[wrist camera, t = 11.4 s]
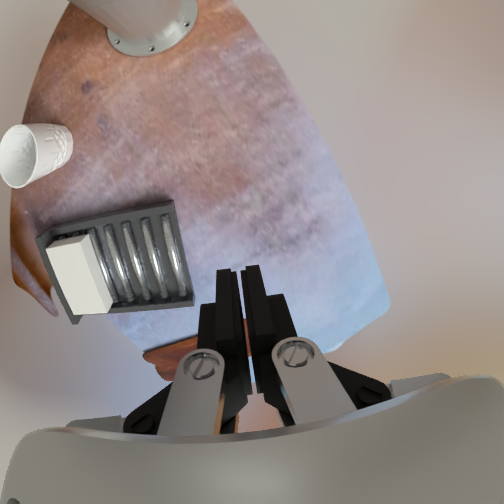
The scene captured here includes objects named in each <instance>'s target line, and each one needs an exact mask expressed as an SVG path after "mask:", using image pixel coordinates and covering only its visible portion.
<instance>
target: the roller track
mask: <svg viewBox="0 0 504 504" xmlns="http://www.w3.org/2000/svg"><path fill="white" fill-rule="evenodd" d="M85 234H89V237H90V240H91V243H92V246H93V249H94V252H95V255H96V258H97V261H98V264H99V267H100V269H101V272H102V275H103V277H104V280H105V283H106V285H107V288H108V290H109V293H110V295H111V298H112V300H113V303H112V305H111V307H110V309H109V311H108V313H99V314H109V313H123V312H137V311H149V310H160V309H171V308H181V307H190V306H194V303H195V294H194V290H193V286H192V282H191V278H190V274H189V270H188V266H187V261H186V257H185V253H184V248H183V244H182V239H181V234H180V230H179V225H178V220H177V215H176V210H175V205H174V200H172V201H166V202H160V203H155V204H149V205H144V206H139V207H133V208H128V209H123V210H118V211H114V212H109V213H104V214H100V215H95V216H91V217H86V218H82V219H78V220H74V221H69V222H65V223H61V224H57V225H54V226H51V227H49V228H48V229H47V230H45V231H44V232H43V233H41V234H40V235H39V236H37V237H36V238H35V240H36V243H37V245H38V248H39V251H40V254H41V256H42V259H43V262H44V264H45V267H46V269H47V272H48V274H49V276H50V279H51V281H52V283H53V286H54V288H55V290H56V292H57V295H58V296H59V299H60V300H61V303H62V305H63V307H64V309H65V311H66V313H67V315H68V317H69V318H70V321H71V323H72V324H78V323H79V321H80V319H81V317H82V316H83V315H92V314H81V315H74V314H73V312H72V310H71V308H70V306H69V304H68V302H67V300H66V298H65V295H64V293H63V291H62V289H61V286H60V284H59V282H58V280H57V277H56V275H55V272H54V270H53V267H52V265H51V262H50V260H49V257H48V254H47V252H46V248H47V247H49V246H50V245H51V244H52V243H53V242H54V241H57V240H61V239H66V238H71V237H76V236H80V235H85Z"/></svg>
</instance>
